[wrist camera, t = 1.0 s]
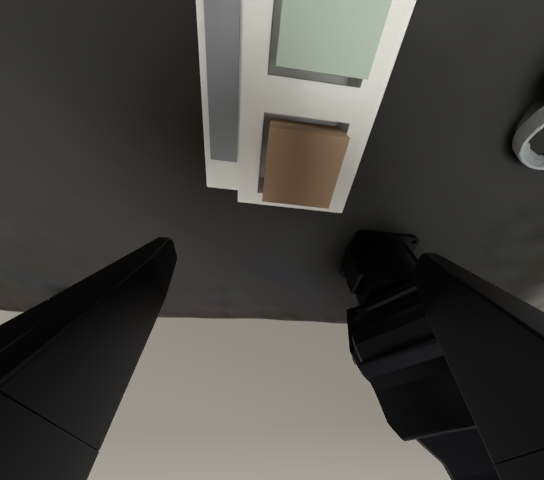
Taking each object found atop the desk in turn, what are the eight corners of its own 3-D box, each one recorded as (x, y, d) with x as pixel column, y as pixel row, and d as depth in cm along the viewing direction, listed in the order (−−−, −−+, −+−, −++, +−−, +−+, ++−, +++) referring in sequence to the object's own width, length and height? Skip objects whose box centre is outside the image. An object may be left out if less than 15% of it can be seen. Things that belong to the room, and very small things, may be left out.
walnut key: (337, 126, 15) (350, 137, 12) (320, 189, 17) (328, 208, 15) (270, 117, 14) (269, 127, 12) (263, 182, 17) (261, 201, 15)
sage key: (381, -39, 10) (413, -71, 8) (350, 77, 13) (367, 79, 11) (287, -56, 10) (292, -94, 8) (275, 66, 13) (275, 66, 10)
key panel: (416, -96, 11) (472, -160, 8) (330, 195, 21) (340, 218, 18) (193, -141, 11) (157, -231, 7) (209, 182, 20) (197, 203, 17)
